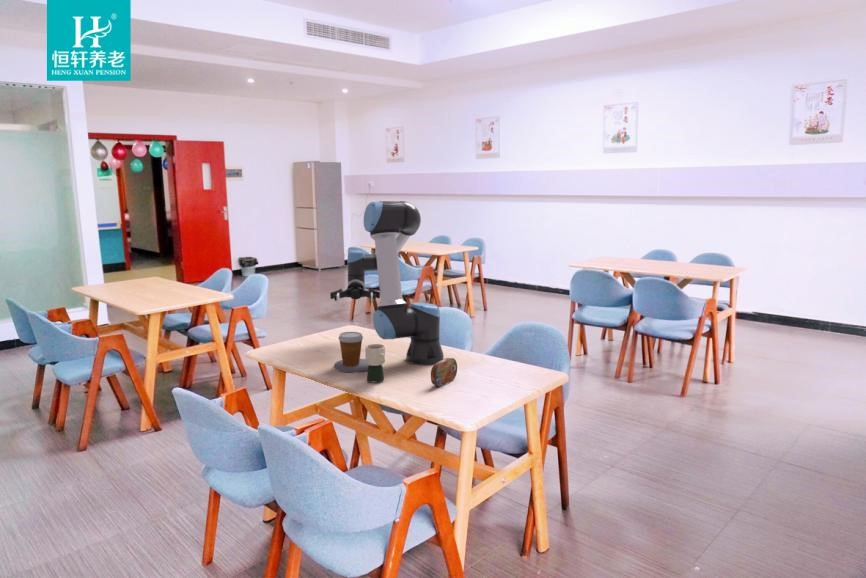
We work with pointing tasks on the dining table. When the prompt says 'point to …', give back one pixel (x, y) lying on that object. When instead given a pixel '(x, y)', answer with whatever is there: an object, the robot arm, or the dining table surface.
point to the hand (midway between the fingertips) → (354, 299)
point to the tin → (443, 372)
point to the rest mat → (359, 368)
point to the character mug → (375, 362)
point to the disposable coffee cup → (350, 348)
